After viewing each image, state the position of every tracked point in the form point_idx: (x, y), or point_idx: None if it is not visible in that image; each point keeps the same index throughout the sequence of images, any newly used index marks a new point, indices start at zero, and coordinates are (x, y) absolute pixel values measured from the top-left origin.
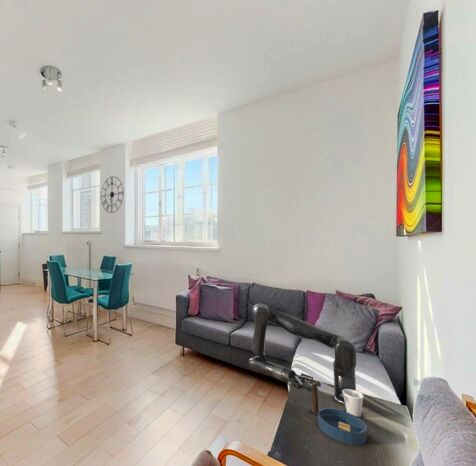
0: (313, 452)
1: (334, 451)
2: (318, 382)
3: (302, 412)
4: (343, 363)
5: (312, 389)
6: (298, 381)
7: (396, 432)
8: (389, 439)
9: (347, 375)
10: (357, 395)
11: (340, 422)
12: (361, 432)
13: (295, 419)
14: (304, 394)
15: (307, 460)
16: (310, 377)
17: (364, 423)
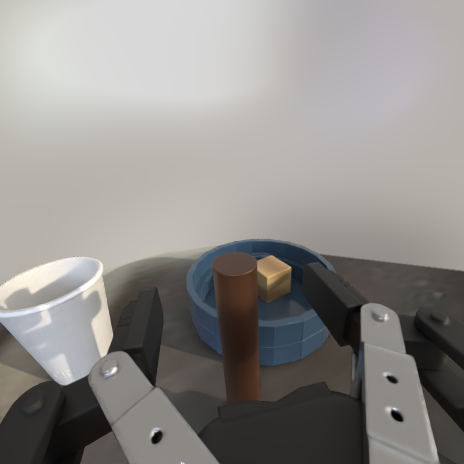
0: (417, 279)
1: (349, 271)
2: (154, 293)
3: None
4: None
5: (256, 323)
6: (408, 360)
7: (123, 275)
8: (173, 268)
9: None
10: (19, 297)
11: (266, 274)
12: (258, 239)
13: (435, 432)
14: None
15: (448, 269)
16: (50, 420)
17: (209, 251)
